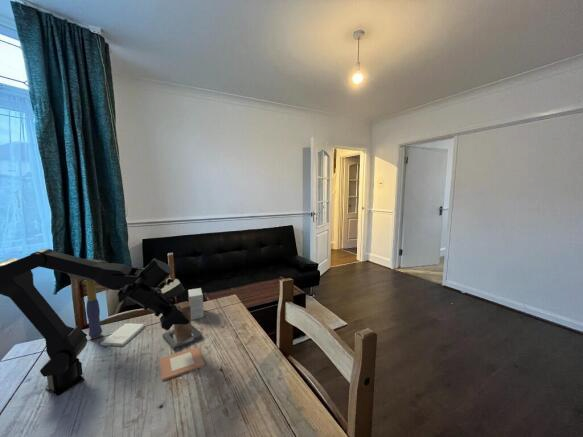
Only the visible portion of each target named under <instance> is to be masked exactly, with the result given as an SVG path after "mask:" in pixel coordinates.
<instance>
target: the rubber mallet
mask: <svg viewBox="0 0 583 437" xmlns="http://www.w3.org/2000/svg"><path fill="white" fill-rule="evenodd" d="M85 259H86V260H90V261H94V262H98V263H109V262H108V261H105V260H99V259H95V258H93V259H92V258H85ZM66 274H67V275H68V277H70V278H72V279H77V280H83V281H85V284H86V294H87V295H86V296H87V297H86V298H87V301H86V318H87V321H88V328H89V330H88V337H90V338H91V339H97V338H100V337H101V335H102V333H103V330H102V329H103V328H102V326H101V319H100V315H101V314H100V313H101V312H100V311H101V309H100V304H99V301H98V299H97V291H96V282H95V281H94V280H91V279H89V278H85V277H81V276H77V275H72V274H68V273H66Z"/></svg>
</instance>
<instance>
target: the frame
mask: <svg viewBox="0 0 583 437" xmlns="http://www.w3.org/2000/svg"><path fill="white" fill-rule="evenodd" d="M191 333H192V336H193V341H190V342H187V343H184V344H181V345H178V346H176V344H175V341H174V339H173V334H174V329H172V330H170V331H169V330H168V331H166V332H164V333H162V339H163V340H164V341H165V342H166V344H167V345H168V346H169V348H171V349H172V350H173V351H176V350H178V349H180V348H182V347H185V346H187V345H190V344H192V343H194V342H196V341H199V340H200V339H203V334H202V332H201V331H200V330H198V329H197V328H196V327H195V326H194V325H193V324H191Z"/></svg>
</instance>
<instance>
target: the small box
mask: <svg viewBox="0 0 583 437" xmlns="http://www.w3.org/2000/svg"><path fill="white" fill-rule="evenodd" d="M187 294H188V295H187V296H188V299H187V300H188V303H189V305H190V306H191V321H192V320H197V319H202V318H204V315H205V314H204V295H203V291H202V287H199V288H192V289H188V290H187Z"/></svg>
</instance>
